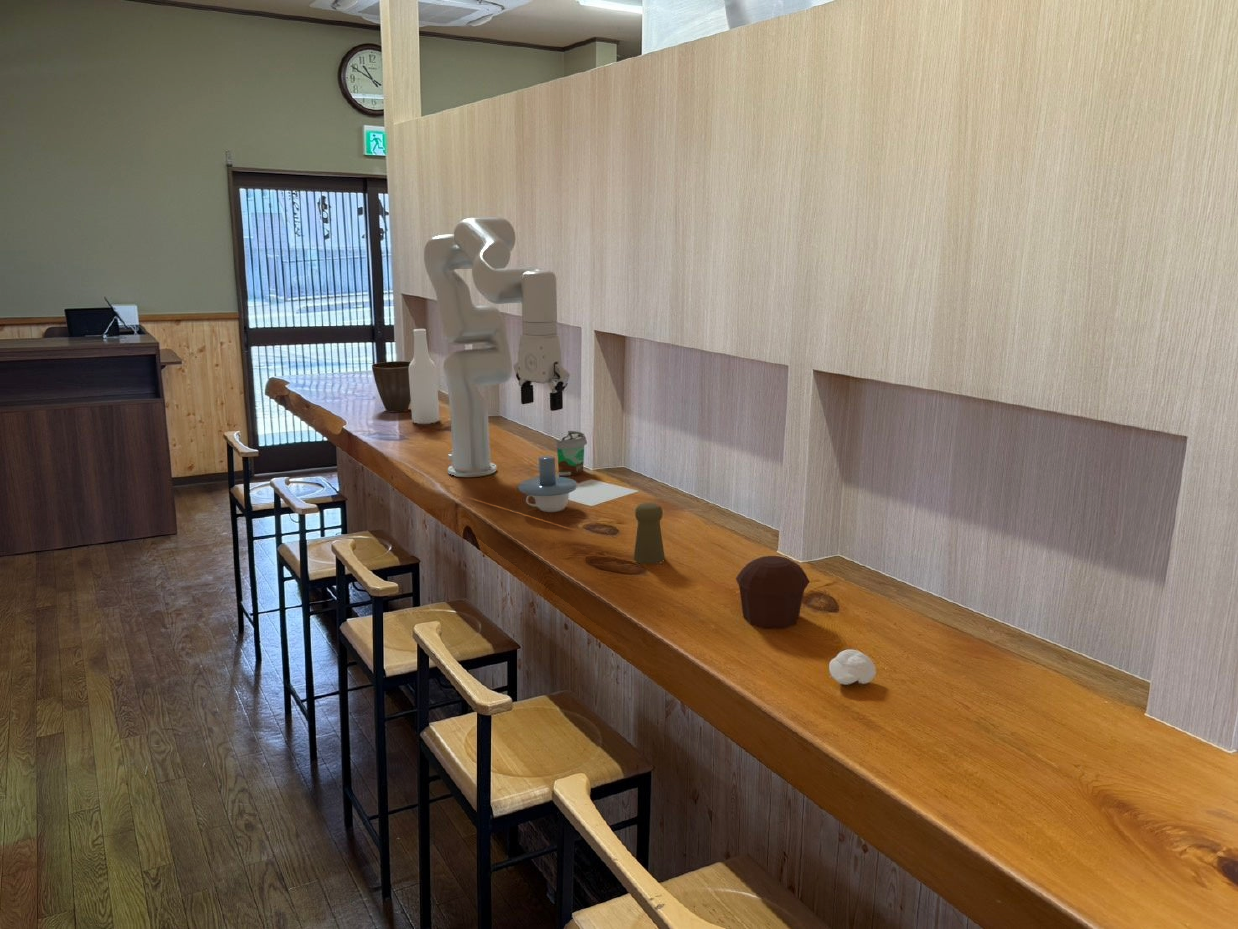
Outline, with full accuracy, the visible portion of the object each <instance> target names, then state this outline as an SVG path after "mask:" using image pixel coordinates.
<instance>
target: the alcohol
mask: <svg viewBox="0 0 1238 929" xmlns="http://www.w3.org/2000/svg"><path fill="white" fill-rule="evenodd" d="M413 337H414V338H413V339H414V340H413V358H412V360H411V361H410V362H411V363H410V365H409V384H410V398H411V401H410V410H411V412H410V413H411V420H412V422H413V423H414V424H415V423H417V424H416V425H432V424H431V423H433V424H435V423H436V422H437V421H438V422H439V420H440V405H439V404H440V403H439V392H438V390H439V389H438V375H437V374H438V373H437V366H436V363H435V362H434V361H433V360H432V359H431V357H430V354H429V347H428V339H427V330H426V329H425V328H416V329H413ZM438 422H437V423H438ZM437 423H436V424H437Z"/></svg>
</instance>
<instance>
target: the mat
mask: <svg viewBox="0 0 1238 929" xmlns="http://www.w3.org/2000/svg"><path fill="white" fill-rule="evenodd" d="M638 492H640V491H639V490H636V489H632V488H630V487H629V488H628V487H624V486H622V485H621V486H620V485H616V484H611V483H608V482H604V481H600V480H597V479H591V478H590V479H587V480H584V481H581V482H577V489H576V490H574V491H572V492H570V493H569V498H568V501H570V502H574V503H577V504H582V505H585V506H589V507H593V506H597V505H599V504H600V505H601V504H604V503H607V502H609V501H612V500H616V499H619V498H622V497H623V498H624V497H626V496H629V495H632V494H635V493H638Z"/></svg>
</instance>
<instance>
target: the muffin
mask: <svg viewBox="0 0 1238 929" xmlns="http://www.w3.org/2000/svg"><path fill="white" fill-rule="evenodd" d="M735 580H736V582H737V585H738V587H739V593H740V601H741V602H740V603H741V610H742V617H744V618H745V619H744V618H743V619H744V620H746V621H747V622H748V623H749V625H750V624H751V625H750V626H754V625H756V626H755V627H758V626H759V628H761V627H762V629H765V630H769V629H770V630H771V629H773V630H774V629H775V630H776V629H778V630H779V629H780V630H783V629H787V628H788V627H792V626H795V625H797V621H798V620H799V618H800V613H801V609H802V608H801V607H802V603H803V599H804V592H805V590H806V588H807V586H808V585H809V583H810V580H809V578H808V576H807V574H806V572H805V571H804V569H803V568H802V567H801V566H800V564H798V563H797V562H795V561H794V560H791V559H789V558H787V557H785V556H781V555H780V556H779V555H766V556H761V557H757V558H755V559H753V560H751V561H750V562H748V563H747V564H746V565H745V566H744V567H743V568H742V569H741V570H740V572H739V573H738V575H737V576H736V577H735ZM797 619H798V620H797Z"/></svg>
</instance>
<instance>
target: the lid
mask: <svg viewBox="0 0 1238 929" xmlns="http://www.w3.org/2000/svg"><path fill="white" fill-rule="evenodd" d="M538 474H539V477H538V476H537V477H533V478H528V479H525V480H522V481H521V482H519V483H518V491H519V492H520V493H522V494H524V495H527V496H528V495H534V496H555V495H562V494H566V493H570V492H572V491H574V490H576V489H577V483H578V482H577V481H576V480H575V479H573V478H570V477H559V476H556V457H555V456H552V455H548V456H547V455H546V456H545V455H544V456H540V457H538Z"/></svg>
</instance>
